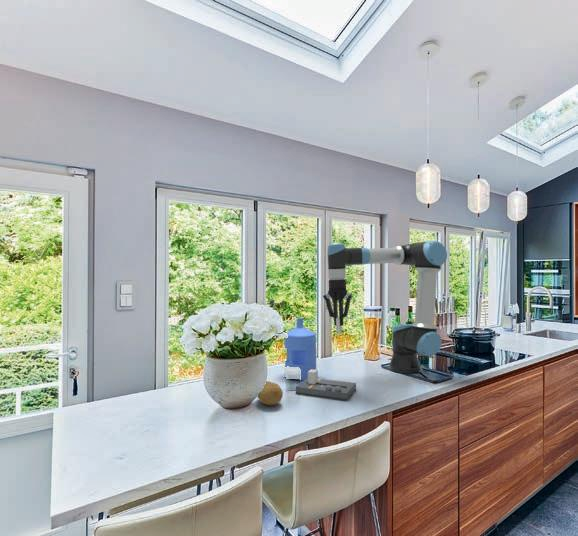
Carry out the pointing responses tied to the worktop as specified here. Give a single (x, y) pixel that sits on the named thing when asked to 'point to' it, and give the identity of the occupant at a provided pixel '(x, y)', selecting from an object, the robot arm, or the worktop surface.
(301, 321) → the water jug
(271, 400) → the potato
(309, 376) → the fader
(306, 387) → the console
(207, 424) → the worktop surface
